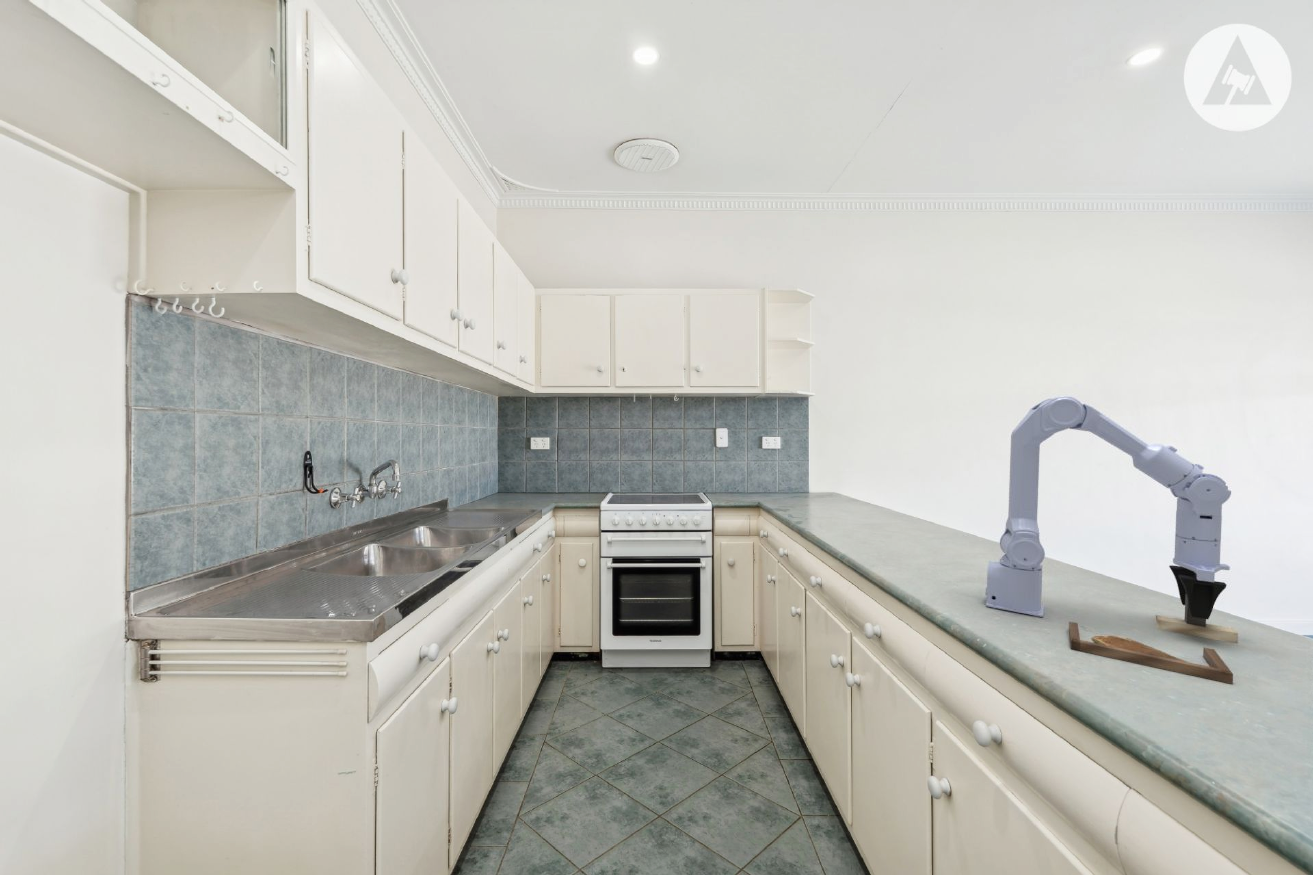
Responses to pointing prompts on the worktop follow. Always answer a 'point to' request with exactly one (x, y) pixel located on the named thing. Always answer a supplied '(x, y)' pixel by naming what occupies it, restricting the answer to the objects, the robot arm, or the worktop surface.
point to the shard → (1130, 645)
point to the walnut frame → (1156, 658)
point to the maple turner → (1196, 627)
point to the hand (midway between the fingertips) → (1194, 611)
